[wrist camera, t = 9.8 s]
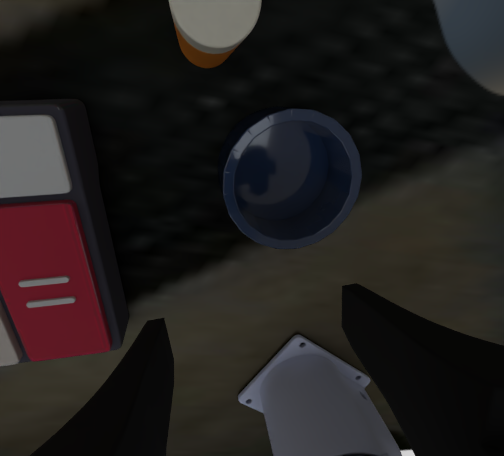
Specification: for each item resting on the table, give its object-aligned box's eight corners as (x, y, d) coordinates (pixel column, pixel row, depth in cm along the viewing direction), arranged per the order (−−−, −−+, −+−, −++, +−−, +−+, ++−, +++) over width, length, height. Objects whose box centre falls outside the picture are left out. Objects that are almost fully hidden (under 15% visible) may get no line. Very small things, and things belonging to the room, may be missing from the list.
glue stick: (243, 35, 18) (280, -10, 11) (211, 79, 19) (223, 68, 11) (199, -8, 17) (206, -92, 10) (166, 41, 18) (147, -1, 10)
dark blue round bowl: (356, 159, 22) (388, 171, 19) (281, 245, 24) (298, 272, 20) (271, 78, 20) (289, 73, 16) (193, 180, 21) (193, 198, 17)
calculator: (-77, 386, 19) (-249, 113, 13) (-32, 334, 23) (-147, 105, 17) (121, 359, 21) (55, 104, 14) (132, 314, 24) (84, 98, 18)
